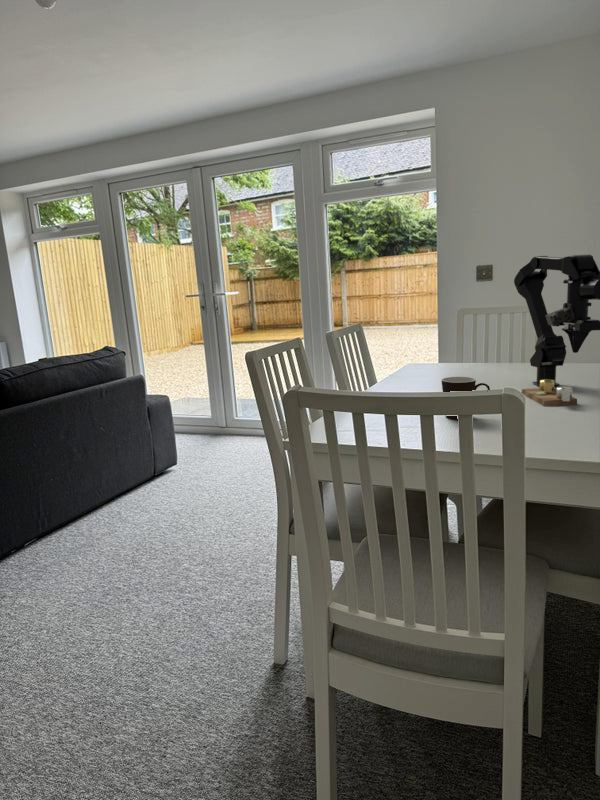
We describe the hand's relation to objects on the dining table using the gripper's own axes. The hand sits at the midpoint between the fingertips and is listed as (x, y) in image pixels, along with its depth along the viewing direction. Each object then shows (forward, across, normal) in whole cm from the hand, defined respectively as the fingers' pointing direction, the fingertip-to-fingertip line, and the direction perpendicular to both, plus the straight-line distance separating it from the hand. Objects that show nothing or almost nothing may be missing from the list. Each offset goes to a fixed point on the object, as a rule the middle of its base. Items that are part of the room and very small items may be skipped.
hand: (575, 352), depth 170 cm
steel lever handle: (+10, +15, -9) cm, 21 cm away
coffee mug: (+12, +25, -39) cm, 48 cm away
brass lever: (+10, +3, -9) cm, 14 cm away
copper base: (+12, +7, -10) cm, 18 cm away
